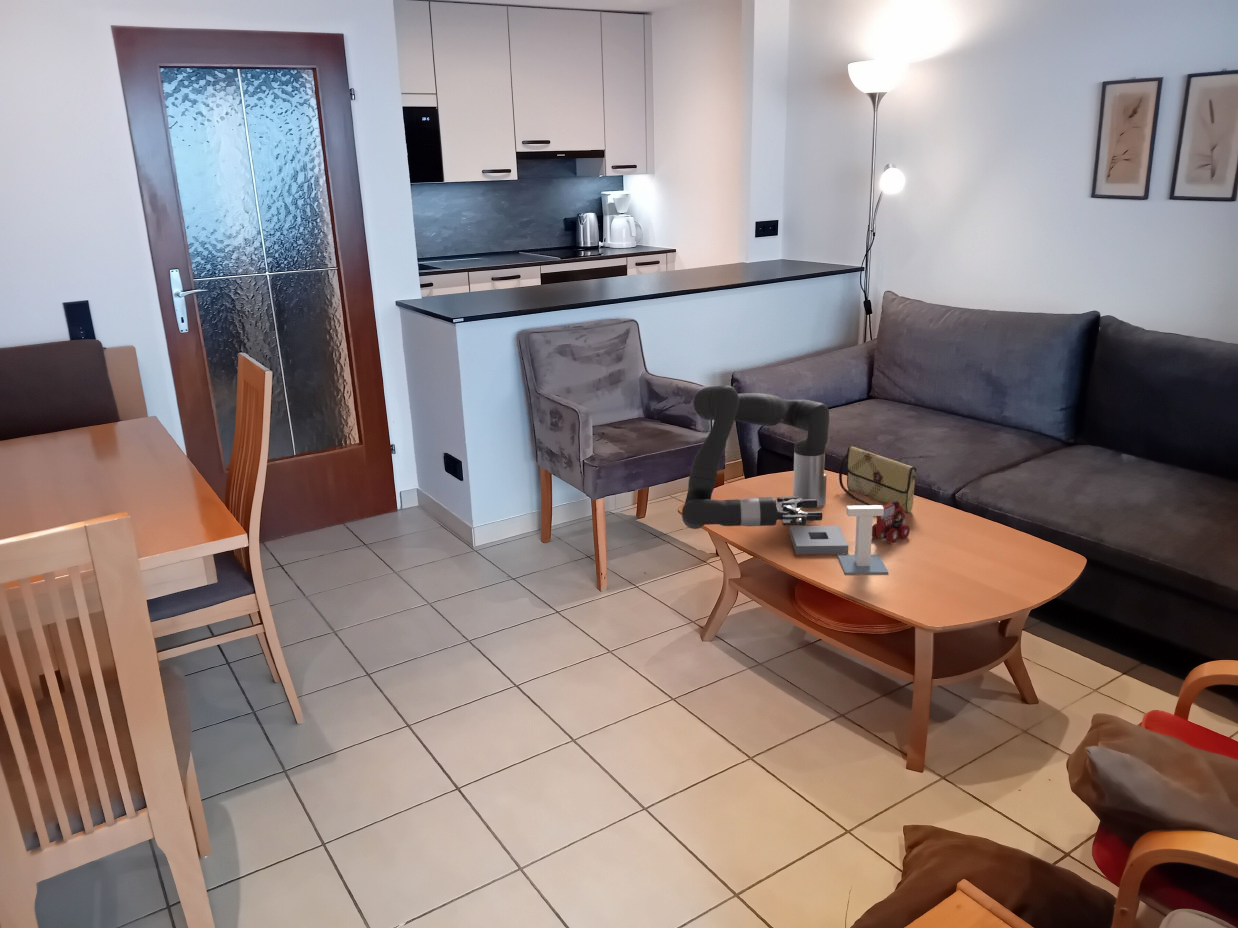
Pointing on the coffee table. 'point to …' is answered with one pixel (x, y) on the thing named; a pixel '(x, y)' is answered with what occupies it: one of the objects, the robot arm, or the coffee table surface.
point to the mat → (852, 568)
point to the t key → (864, 530)
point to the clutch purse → (879, 478)
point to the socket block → (818, 540)
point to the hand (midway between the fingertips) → (819, 509)
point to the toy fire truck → (891, 523)
